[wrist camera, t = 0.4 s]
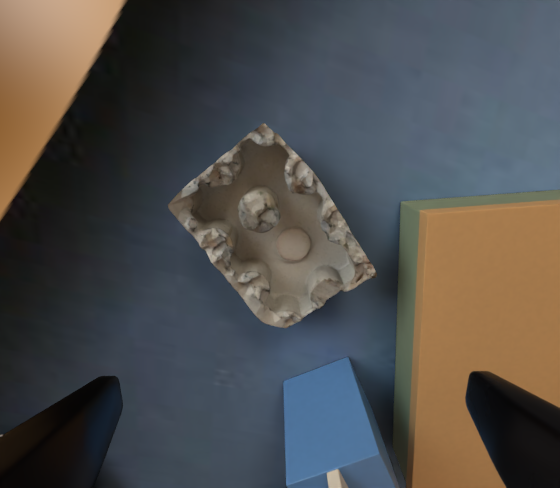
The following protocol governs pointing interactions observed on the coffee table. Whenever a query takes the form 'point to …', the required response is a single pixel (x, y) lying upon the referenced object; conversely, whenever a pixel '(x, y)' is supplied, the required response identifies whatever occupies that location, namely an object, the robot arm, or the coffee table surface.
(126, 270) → the coffee table surface
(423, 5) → the coffee table surface
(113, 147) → the coffee table surface
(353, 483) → the carton
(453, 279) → the board
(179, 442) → the coffee table surface
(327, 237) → the egg carton
